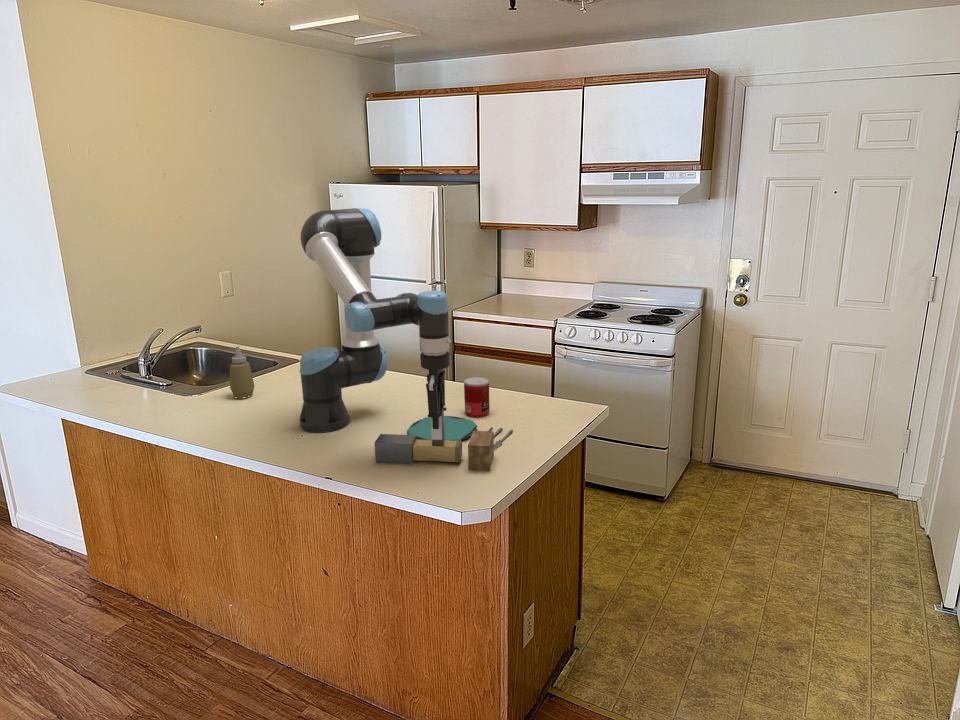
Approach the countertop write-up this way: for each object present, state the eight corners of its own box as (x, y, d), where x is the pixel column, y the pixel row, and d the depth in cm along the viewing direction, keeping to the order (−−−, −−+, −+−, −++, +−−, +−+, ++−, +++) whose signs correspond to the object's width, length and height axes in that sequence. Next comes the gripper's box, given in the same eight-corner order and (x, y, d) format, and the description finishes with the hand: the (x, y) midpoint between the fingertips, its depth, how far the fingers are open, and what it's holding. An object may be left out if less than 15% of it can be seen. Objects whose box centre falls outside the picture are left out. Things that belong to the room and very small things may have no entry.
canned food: (487, 418, 214) (486, 385, 211) (462, 417, 216) (461, 383, 213) (491, 410, 221) (491, 377, 218) (467, 408, 223) (466, 376, 220)
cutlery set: (429, 417, 216) (429, 410, 216) (517, 432, 204) (517, 425, 204) (396, 441, 199) (395, 433, 199) (490, 458, 187) (490, 451, 186)
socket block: (468, 470, 178) (467, 445, 176) (473, 454, 188) (473, 430, 186) (489, 470, 177) (489, 446, 175) (493, 455, 187) (493, 431, 185)
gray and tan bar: (379, 459, 184) (375, 409, 180) (383, 452, 188) (380, 404, 184) (459, 462, 181) (458, 412, 177) (462, 455, 185) (460, 406, 181)
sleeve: (375, 463, 183) (374, 442, 182) (381, 454, 189) (380, 433, 187) (412, 464, 182) (411, 443, 180) (417, 455, 188) (416, 435, 186)
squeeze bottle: (260, 395, 240) (254, 345, 235) (241, 401, 234) (235, 351, 229) (245, 391, 245) (239, 343, 240) (226, 398, 238) (220, 348, 233)
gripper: (443, 360, 168) (446, 449, 174) (454, 344, 182) (456, 426, 189) (413, 359, 169) (417, 448, 175) (426, 343, 184) (430, 425, 190)
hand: (438, 436), depth 182 cm, fingers closed on gray and tan bar, 2 cm apart
